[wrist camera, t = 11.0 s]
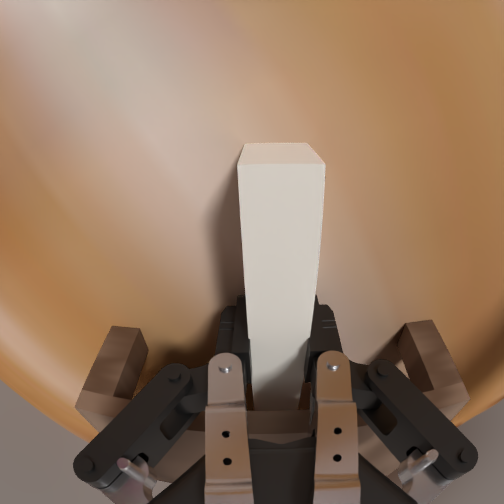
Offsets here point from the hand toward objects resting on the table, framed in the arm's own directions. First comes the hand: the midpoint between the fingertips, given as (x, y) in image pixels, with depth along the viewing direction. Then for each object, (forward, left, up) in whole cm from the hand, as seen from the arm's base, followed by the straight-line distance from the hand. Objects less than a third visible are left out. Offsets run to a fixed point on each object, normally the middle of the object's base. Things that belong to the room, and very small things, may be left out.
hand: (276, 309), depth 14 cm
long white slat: (0, +5, -1) cm, 5 cm away
